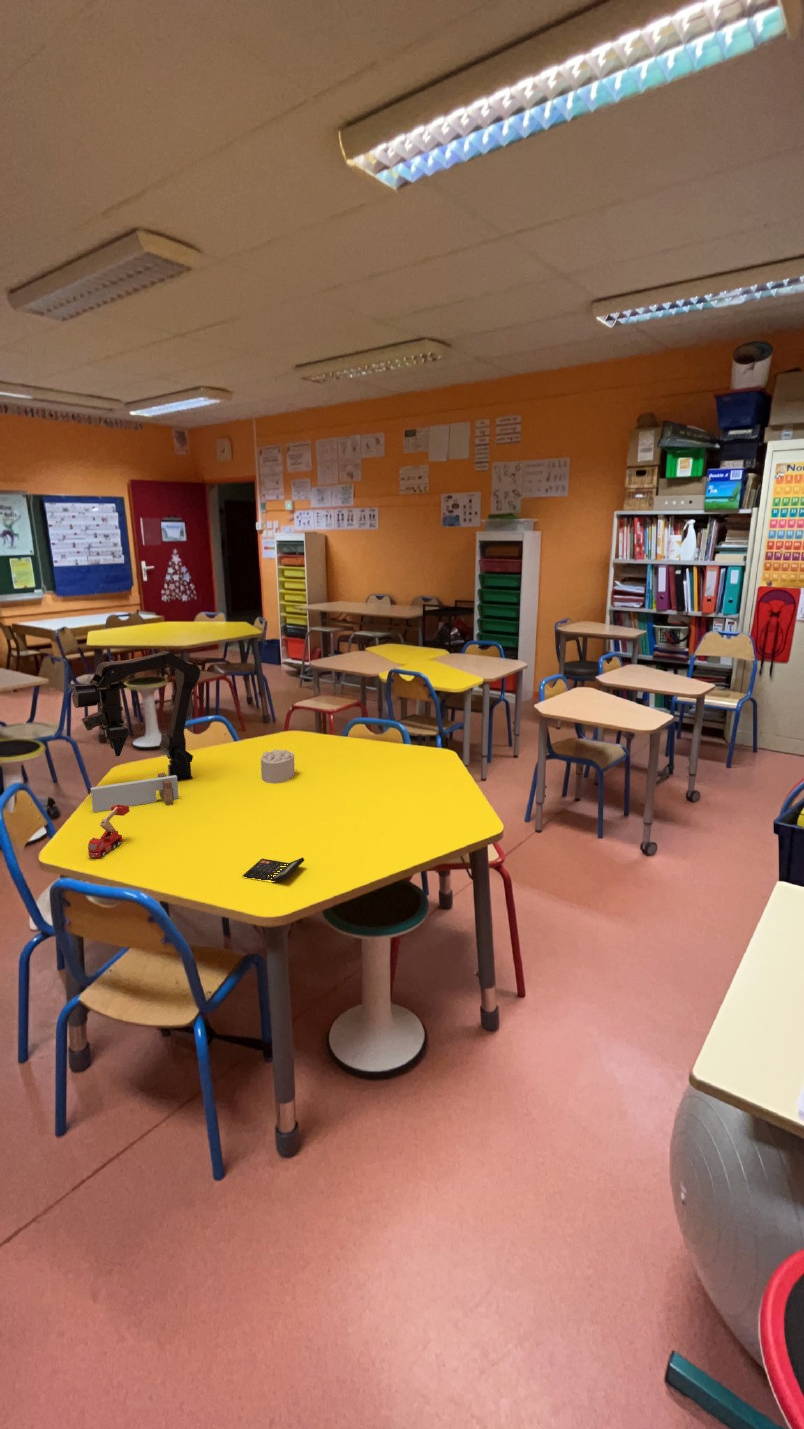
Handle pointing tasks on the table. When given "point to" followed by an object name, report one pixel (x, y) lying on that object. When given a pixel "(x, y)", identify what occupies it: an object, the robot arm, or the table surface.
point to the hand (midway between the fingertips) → (115, 752)
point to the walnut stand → (166, 790)
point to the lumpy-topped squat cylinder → (277, 766)
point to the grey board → (130, 793)
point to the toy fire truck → (107, 834)
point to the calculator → (272, 869)
